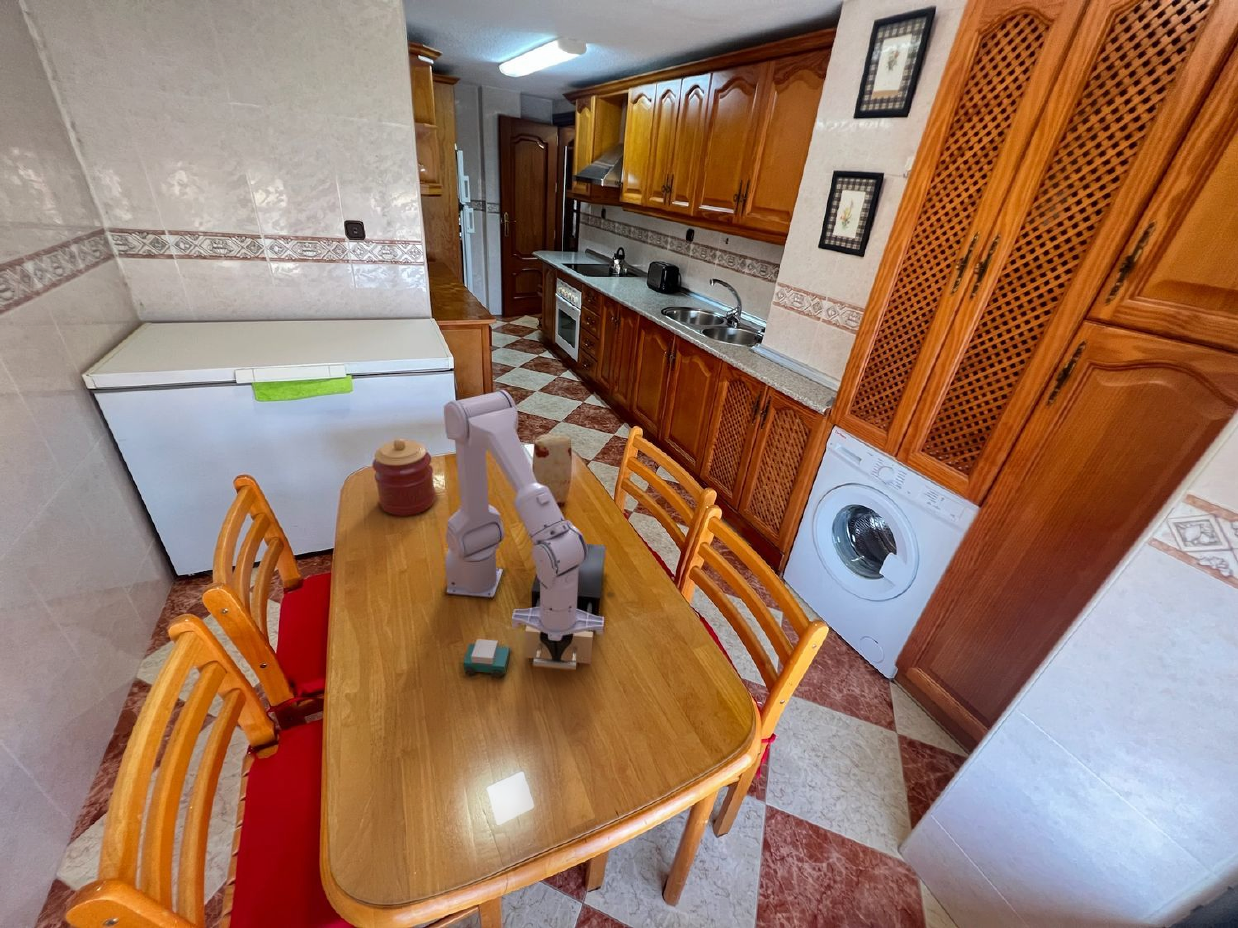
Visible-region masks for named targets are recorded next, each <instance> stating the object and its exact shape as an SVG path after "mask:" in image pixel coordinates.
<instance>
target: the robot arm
mask: <svg viewBox="0 0 1238 928" xmlns="http://www.w3.org/2000/svg"><path fill="white" fill-rule="evenodd" d="M443 418H444V419H443V420H444V428H445V429H444V430H445V434H446V438H447V439H448V440H451V441H454V444H455V446H454V447H455V456H456V467H457V479H458V480H457V481H458V491H459V500H460V501H459V503H460V506H459V508H458V509H457V511H455V512H454V513H452V514H451V516H450V517H449V518H448V519H447V521H446V522H447V523H446V524H447V525H446V532H445V540H446V544H447V548H448V549H447V552H446V555H445V561H444V567H445V577H446V585H447V589H446V594H449V595H460V596H471V597H481V598H494V597H495V594H496V592H497V589H498V586H499V583H500V581H501V578H502V576H503V571H504V569H503V568H497V554H496V551H497V549H499V546H500V545H499V543H502V542H503V541H504V539H505V535H506V534H505V528H504V524H503V521H502V515H501V513H500V511H498V510H497V508H496V507H495V506H493V505H492V504H489V503H490V501H489V486H488V485H489V484H488V466H487V451H489V453H490V454H491V456H492V458H493V460H495V462H496V463H497V465H498V467H499V469H500V470H501V472H502V473H503V475H504V476H505V477H506V479H507V481H508V483H509V484H510V486H511V488H512V490H513V491H514V492H515V497H514V500H513V507H514V509H515V511H516V513H517V515H518V517H519V519H520V521H521V524H522V525H523V527H524V529H525V531H526V533H527V535H528V537H529V539H530V541H531V543H532V545H533V547H532V548H531V549H530V552H531V558H532V561H533V563H534V567H535V575H536V574H537V577H538V579H539V580H540V607H534V608H531V607H530V608H529V607H528V608H522V609H521V608H520V609H517V608H516V609H513V610H514V611H513V613H512V615H511V627H512V628H519V627H520V625H522V626H523V625H524V626H529V627H532V628H534V629H537V630H539V631H541V632H540V641H541V642H542V643H543V644H544V645H545V646H546V647H547V648H548V650H549V652H550V654H551V656H552V659H556V660H561V657H562V654H563V652H564V651H565V649H566V648H567V647H568V646H569V645H570V644H571V642H572V640H573V634H574V633H578V632H584V631H589V630H590V632H595V634H596V635H603V633H604V623H605V617H604V616H600V615H599V616H595V615H592V614H589V613H587V612H584V611H582V610H579V609H577V591H578V569H579V565H578V564H580V563H582V561H585V560H586V558H587V555H588V549H587V545H586V544H587V541H586V540H585V538H584V535H583V533H582V532H581V531H580V530H579V529H578V528H577V527H576V526H574V524H573V523H572V521H570V519H567V520H566V518H565V517H564V515H563V513H562V510H561V509H560V506H558V505H557V503H556V501H555V500H554V498H553V496H552V494H551V492H550V490H549V488H548V487H546V486H544V485H541V484H539V483H537V481H536V478H535V476H534V473H533V471H532V467H531V464H530V461H529V459H528V456H527V454H526V452H525V449H524V447H523V445H522V442H521V440H520V437H519V435H518V433H517V431H518V428H519V412H518V410H517V405H516V403H515V401H514V399H513V397H512V396H511V394H509V393H508V392H507V391H506V390H504V389H500V390H497V391H494V392H490V393H485V394H481V395H477V396H472V397H471V396H470V397H467V398H463V399H459V400H455V399H454V400H450V401H448V402H447V403H446V404H444V405H443Z"/></svg>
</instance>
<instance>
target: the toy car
mask: <svg viewBox="0 0 1238 928" xmlns="http://www.w3.org/2000/svg"><path fill="white" fill-rule="evenodd" d="M464 656H465V657H464V659H463V661H462V666H463V671H465V674H466V675H468V676H474V675H475V674H476V673H487V674H492V676H493V677H494V678H496V679H500V678H502V677H503V675H506V672H507V669H508V664H509V661H510V657H511V647H510V646H500V645H499V641H498V640H491V639H481V638H477V639H476V642H475V643H469V646H468V648H467V651H466V653H465V655H464Z"/></svg>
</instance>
